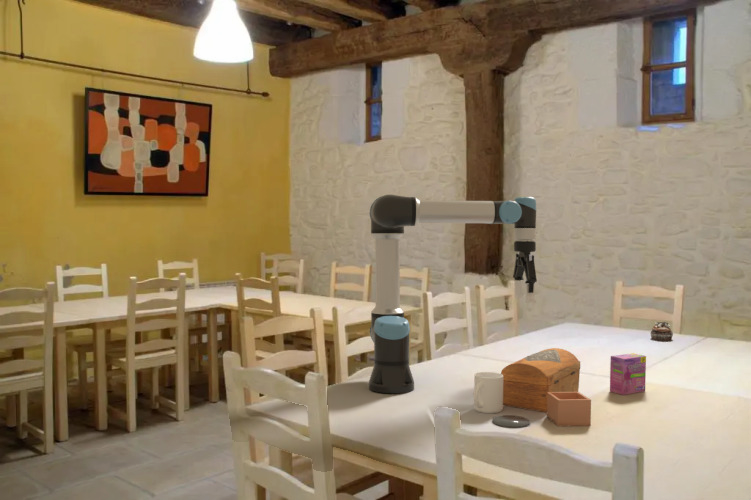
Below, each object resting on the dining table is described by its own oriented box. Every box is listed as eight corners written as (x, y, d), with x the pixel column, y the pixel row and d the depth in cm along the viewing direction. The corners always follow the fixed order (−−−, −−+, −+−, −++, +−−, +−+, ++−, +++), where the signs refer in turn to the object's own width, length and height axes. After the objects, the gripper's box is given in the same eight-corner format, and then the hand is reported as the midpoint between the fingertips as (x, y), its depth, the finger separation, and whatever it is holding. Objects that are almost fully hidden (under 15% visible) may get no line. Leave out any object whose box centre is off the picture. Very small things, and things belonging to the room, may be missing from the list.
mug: (486, 418, 191) (487, 381, 191) (461, 413, 196) (462, 377, 196) (508, 409, 200) (508, 374, 200) (483, 404, 206) (484, 370, 205)
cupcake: (646, 342, 321) (646, 320, 321) (665, 341, 322) (666, 320, 322) (656, 345, 312) (657, 323, 311) (676, 345, 313) (677, 323, 312)
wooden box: (532, 386, 231) (533, 345, 231) (581, 393, 222) (582, 350, 221) (495, 405, 206) (495, 359, 206) (548, 413, 197) (548, 365, 197)
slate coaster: (498, 428, 182) (498, 425, 182) (488, 417, 192) (488, 415, 192) (535, 427, 183) (535, 425, 183) (523, 416, 193) (523, 414, 193)
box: (623, 395, 218) (623, 358, 218) (609, 391, 223) (609, 355, 223) (646, 391, 223) (646, 355, 223) (632, 388, 228) (632, 352, 228)
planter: (558, 426, 184) (558, 400, 183) (546, 416, 193) (547, 392, 192) (590, 425, 184) (591, 399, 184) (577, 416, 193) (578, 391, 193)
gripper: (546, 241, 232) (545, 303, 233) (524, 240, 257) (524, 296, 258) (524, 241, 231) (524, 304, 232) (505, 239, 256) (504, 296, 257)
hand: (524, 300), depth 245 cm, fingers open, 13 cm apart
